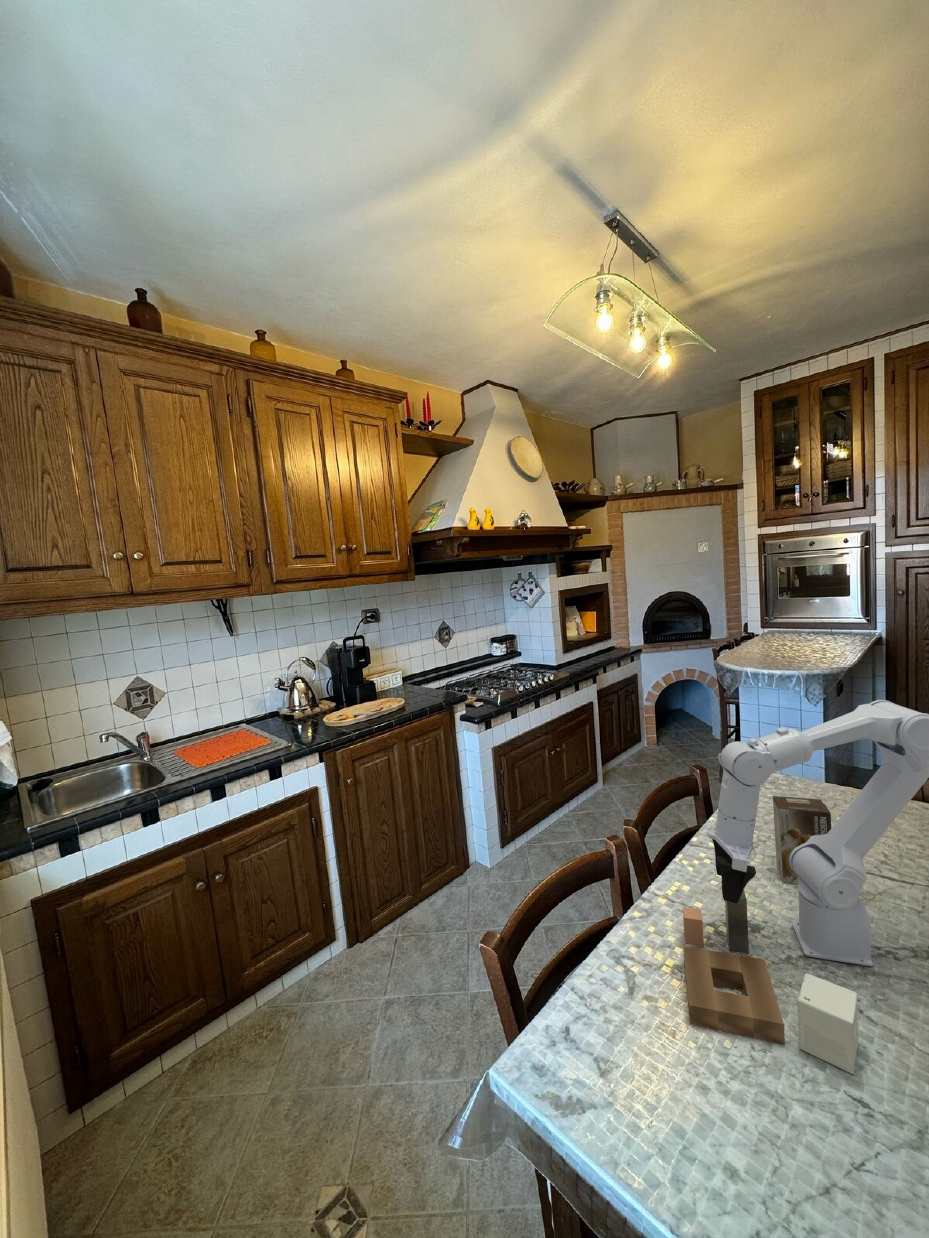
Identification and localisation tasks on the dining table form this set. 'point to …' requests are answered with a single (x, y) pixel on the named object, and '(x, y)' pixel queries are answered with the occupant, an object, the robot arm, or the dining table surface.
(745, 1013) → the hole block
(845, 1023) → the product box
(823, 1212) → the dining table surface
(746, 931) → the long metal pin
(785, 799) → the coffee box
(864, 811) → the robot arm
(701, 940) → the orange brown block
